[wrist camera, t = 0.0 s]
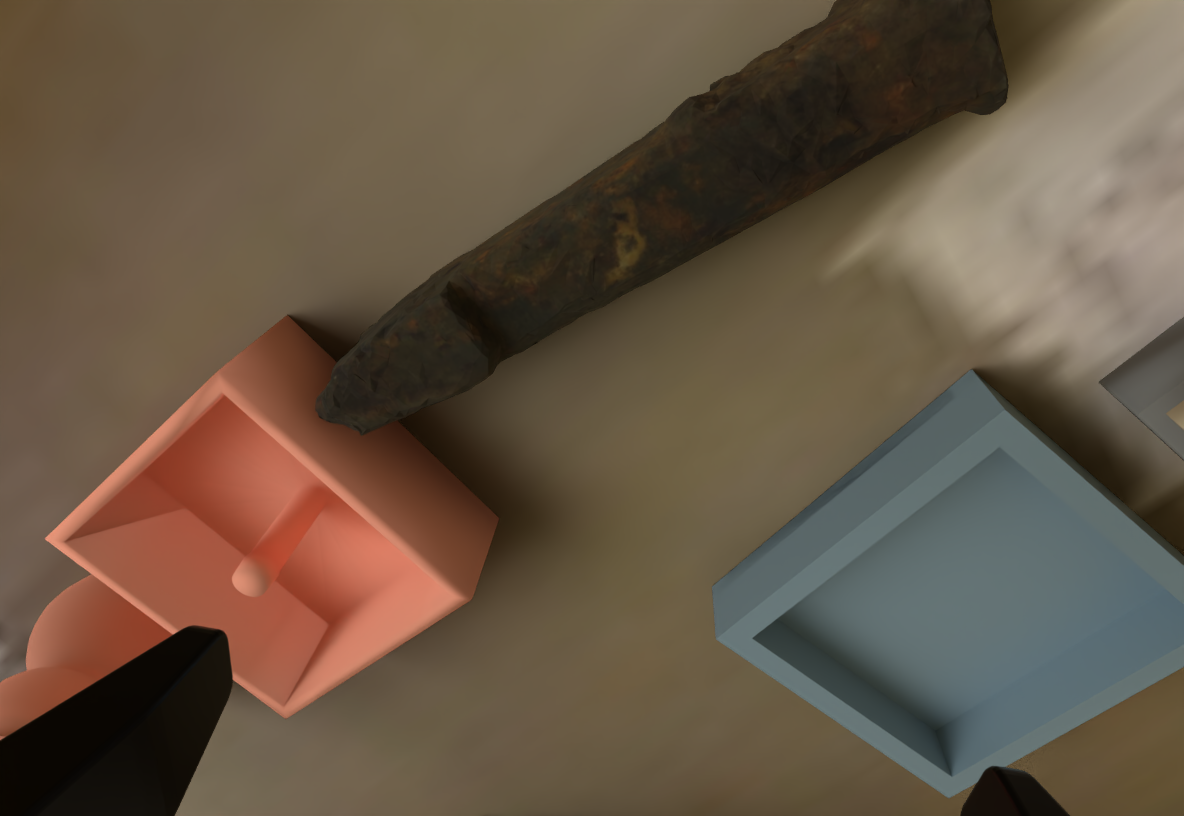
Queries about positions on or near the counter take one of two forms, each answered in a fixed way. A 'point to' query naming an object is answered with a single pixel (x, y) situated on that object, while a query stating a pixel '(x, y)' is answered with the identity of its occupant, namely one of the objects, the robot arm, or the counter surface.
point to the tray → (960, 594)
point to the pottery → (258, 541)
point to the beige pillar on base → (1155, 386)
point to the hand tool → (677, 195)
